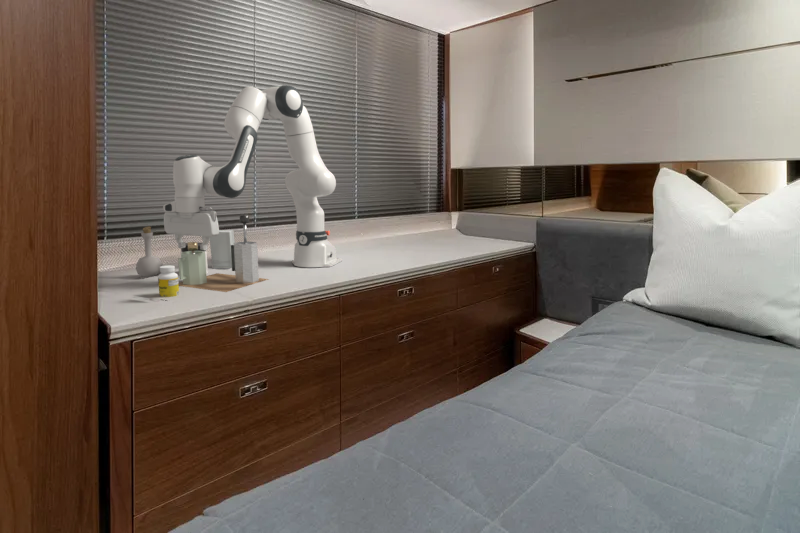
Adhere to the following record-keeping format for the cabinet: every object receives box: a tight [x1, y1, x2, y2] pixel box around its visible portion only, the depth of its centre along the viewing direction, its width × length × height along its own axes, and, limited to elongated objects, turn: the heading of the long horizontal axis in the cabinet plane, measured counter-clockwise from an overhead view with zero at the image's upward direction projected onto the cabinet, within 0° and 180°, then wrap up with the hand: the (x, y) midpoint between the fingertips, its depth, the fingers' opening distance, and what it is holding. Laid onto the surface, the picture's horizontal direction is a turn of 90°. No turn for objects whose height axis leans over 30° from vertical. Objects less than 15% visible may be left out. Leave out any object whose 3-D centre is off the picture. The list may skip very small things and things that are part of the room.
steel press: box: [231, 240, 260, 284], centre depth 166 cm, size 7×10×13 cm
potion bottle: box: [135, 226, 164, 280], centre depth 175 cm, size 9×9×18 cm
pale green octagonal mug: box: [177, 251, 207, 285], centre depth 162 cm, size 10×7×10 cm
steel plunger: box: [239, 214, 250, 244], centre depth 164 cm, size 5×5×11 cm
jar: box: [180, 241, 209, 275], centre depth 177 cm, size 9×8×12 cm
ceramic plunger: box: [187, 241, 199, 254], centre depth 162 cm, size 5×5×10 cm
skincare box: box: [209, 229, 236, 270], centre depth 194 cm, size 8×6×15 cm
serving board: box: [178, 272, 270, 293], centre depth 165 cm, size 21×23×1 cm
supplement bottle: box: [157, 265, 180, 302], centre depth 146 cm, size 5×5×10 cm
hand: (192, 248), depth 162 cm, fingers open, 8 cm apart
